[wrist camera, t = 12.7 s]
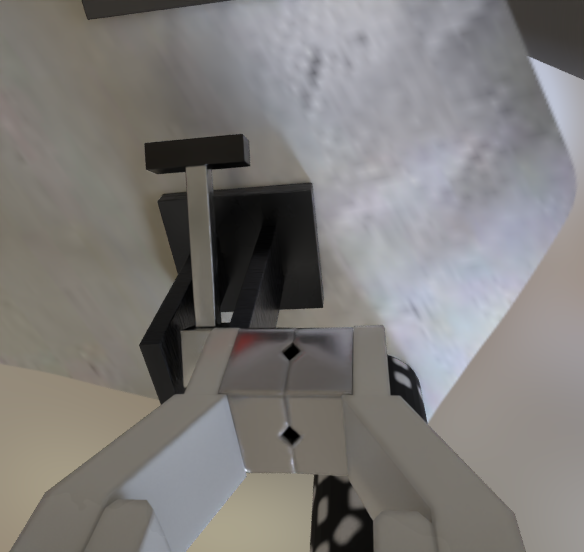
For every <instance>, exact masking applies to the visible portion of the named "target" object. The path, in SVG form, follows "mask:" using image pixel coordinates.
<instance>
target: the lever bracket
mask: <svg viewBox="0 0 584 552" xmlns="http://www.w3.org/2000/svg"><path fill="white" fill-rule="evenodd" d="M213 194H214V210H215V226H216V243H217V259H218V276H219V292H220V308H221V312H233V311H234V312H233V316H232V319H231V322H230V325H229V328H276V324H277V319H278V313H279V310H281V309H305V308H323V301H324V297H323V287H322V277H321V267H320V257H319V246H318V236H317V226H316V216H315V206H314V196H313V186H312V183H303V184H291V185H278V186H265V187H252V188H240V189H227V190H214V191H213ZM158 205H159V209H160V212H161V216H162V219H163V223H164V227H165V230H166V234H167V237H168V241H169V244H170V248H171V251H172V255H173V258H174V262H175V265H176V269H177V272H178V276H177V278H176V279H175V281H174V283H173V285H172V287H171V288H170V290H169V292H168V294H167V296H166V297H165V299H164V301H163V303H162V305H161V306H160V308H159V310H158V312H157V314H156V315H155V317H154V319H153V321H152V323H151V324H150V326H149V328H148V330H147V332H146V333H145V335H144V337H143V339H142V341H141V343H140V344H139V346H140V349H141V352H142V354H143V357H144V360H145V363H146V365H147V368H148V371H149V373H150V376H151V379H152V382H153V384H154V387H155V390H156V392H157V395H158V398H159V401H160V403H161V405H162V404H163V403H164V402H166V401H167V400H168V399H170V398H171V397H172V396H173V395H175V394H184V392H185V390H186V388H185V387H183V375H182V360H181V344H180V331H181V330H183V329H186V328H188V327H191V326H193V325H195V313H194V297H193V282H192V266H191V250H190V234H189V218H188V202H187V193H176V194H163V195H162V197H161V198H160V199H159V200H158Z"/></svg>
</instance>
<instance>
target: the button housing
mask: <svg viewBox="0 0 584 552" xmlns="http://www.w3.org/2000/svg"><path fill="white" fill-rule="evenodd" d="M223 1H230V0H82V3H83V6H84V10H85V13H86V16H87V19H88V20H90V19H97V18H104V17H112V16H119V15H127V14H134V13H142V12H149V11H156V10H164V9H171V8H179V7H186V6H193V5H201V4H208V3H216V2H223Z"/></svg>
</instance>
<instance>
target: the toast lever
mask: <svg viewBox="0 0 584 552" xmlns="http://www.w3.org/2000/svg"><path fill="white" fill-rule="evenodd" d="M144 145H145V161H146V170H148V171H151V172H153V173H156V174H165V173H177V172H186V186H187V202H188V218H189V234H190V250H191V266H192V282H193V297H194V313H195V325H193V326H191V327H188V328H186V329H183V330H181V331H180V344H181V360H182V375H183V387H185V388H186V387H187V385H188V383H189V380H190V378H191V375H192V373H193V371H194V368H195V366H196V363H197V361H198V358H199V356H200V354H201V351H202V349H203V346H204V344H205V342H206V339H207V337H208V334H209V333H210V331H212V330H213V329H214V328H229V325H230V323H221V308H220V292H219V276H218V259H217V243H216V226H215V210H214V194H213V177H212V169H224V168H236V167H248V166H250V150H249V140H248V139H247V138H246V137H245V136H244V135H243V134H236V135H225V136H215V137H204V138H193V139H183V140H172V141H162V142H151V143H145V144H144Z"/></svg>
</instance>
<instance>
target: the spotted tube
mask: <svg viewBox="0 0 584 552" xmlns="http://www.w3.org/2000/svg"><path fill="white" fill-rule="evenodd" d="M387 360H388V372H389V384H390V395H392V396H401V397H402V398H403V399H404V400H405V401H406V402H407V403H408V404H409V405H410V406H411V407H412V408H413V410H414V411H415V412H416V413H417V414H418V415H419V416H420V417H421V418H422V419H423V420H424V421H425V422H426V423H427V419H426V413H425V408H424V403H423V398H422V392H421V387H420V383H419V380H418V378H417V376H416V374H415V373H414V371H413V370H412V369H411V368H410V367H409V366H408V365H406V364H405V363H403V362H402V361H400V360H398V359H396V358H393V357H391V356H387ZM310 552H374V538H373V520H372V518H371V517H370V515H369V513H368V512H367V510H366V508H365V506H364V505H363V503H362V501H361V500H360V498H359V496H358V495H357V493H356V491H355V489H354V488H353V486H352V484H351V483H350V481H349V479H348V476H333V475H317V474H314V486H313V503H312V521H311V539H310Z"/></svg>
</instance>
